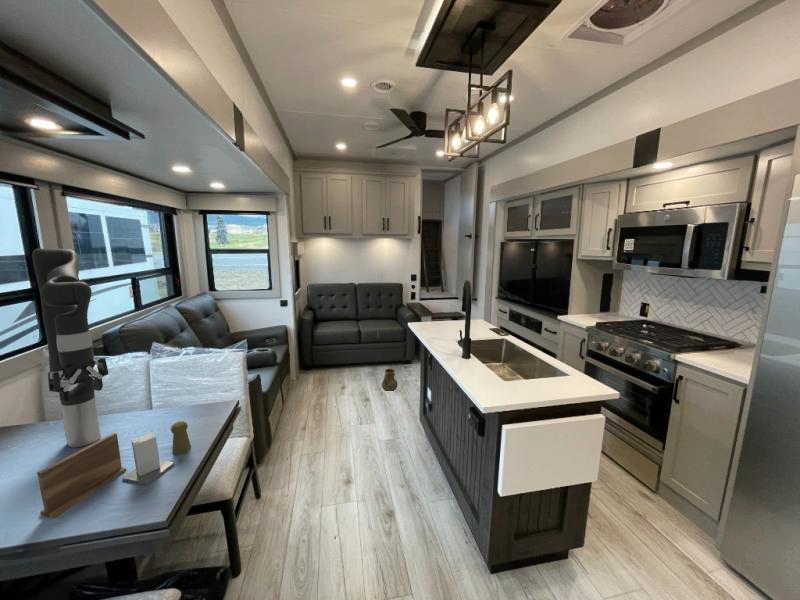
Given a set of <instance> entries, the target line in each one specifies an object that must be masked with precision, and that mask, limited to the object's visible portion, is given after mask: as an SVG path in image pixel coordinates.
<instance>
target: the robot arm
mask: <svg viewBox="0 0 800 600" xmlns="http://www.w3.org/2000/svg"><path fill="white" fill-rule="evenodd" d="M31 257H32V264H33V269H34V273H35V278H36V281H37V285H38V290H39V295H40V303H41V313H42V321H43V327H44V331H45V335H46V341H47V349H48V365H49V372H48V373H47V381H48V390H49V392H53V393H59V400H60V404H61V410H62V416H63V421H62V424H63V430H64V436H65V440H66V444H67V446H68V447H69V448H74V449H75V448H81V447H86V446H89V445H91V444H93V443H95V442H97V441H99V440H100V439H101V437H102V436H101V435H102V434H101V429H100V422H99V421H100V420H99V414H98V409H97V402H96V396H95V391H96V392H100V391H102V390H103V388H104V384H103V378H104V377H105V376H108V375H109V368H108V363H107V359H106V358H105V357H96V358H95V354H94V347H93V346H94V345H93V341H92V335H91V333H90V327H89V326H90V325H89V318H88V312H89V311H88V310H89V306H90V303H91V298H92V292H93V291H92V287H91V286H90V285H89V284H88V283H87V282H85V281H80V279H79V274H80V272H79V271H80V261H79V257H78V254H77V253H76V252H75V251H74V250H73V249H69V248H35V249H34V250H33V251H32V254H31ZM94 358H95V359H94ZM95 366H96V367H97V370H96V369H94V368H95ZM74 385H76V386H75V387H73V388H72V389H71V390H69V389H70V388H71V386H74Z"/></svg>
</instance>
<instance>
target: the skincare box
mask: <svg viewBox="0 0 800 600" xmlns="http://www.w3.org/2000/svg"><path fill="white" fill-rule="evenodd" d="M131 446H132V453H133V459H134V464H135V469H136V471H137V473H138V475H139V477H140V476H142V475H145V474H147V473H149V472H152V471H154V470H156V469H159V468H160V461H159V460H160V454H159V448H158V441H157V437H156V435H155V434H154V432H151V433H149V434H146V435H143V436H141V437H138V438H134V439H131Z"/></svg>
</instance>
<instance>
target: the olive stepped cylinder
mask: <svg viewBox="0 0 800 600" xmlns="http://www.w3.org/2000/svg"><path fill="white" fill-rule="evenodd" d="M187 429H188V422H186V421H178V422H176V423H173V424H172V425H171V426H170V432H171V433H172V448H171V449H172V450H171V451H172V452H171V453H172V454H174V455H181V454H184V453H186V452H188V451H189V450H190V449H191V447H192V446H191V445H192V444H191V442H190V438H189V435H188V431H187Z"/></svg>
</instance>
